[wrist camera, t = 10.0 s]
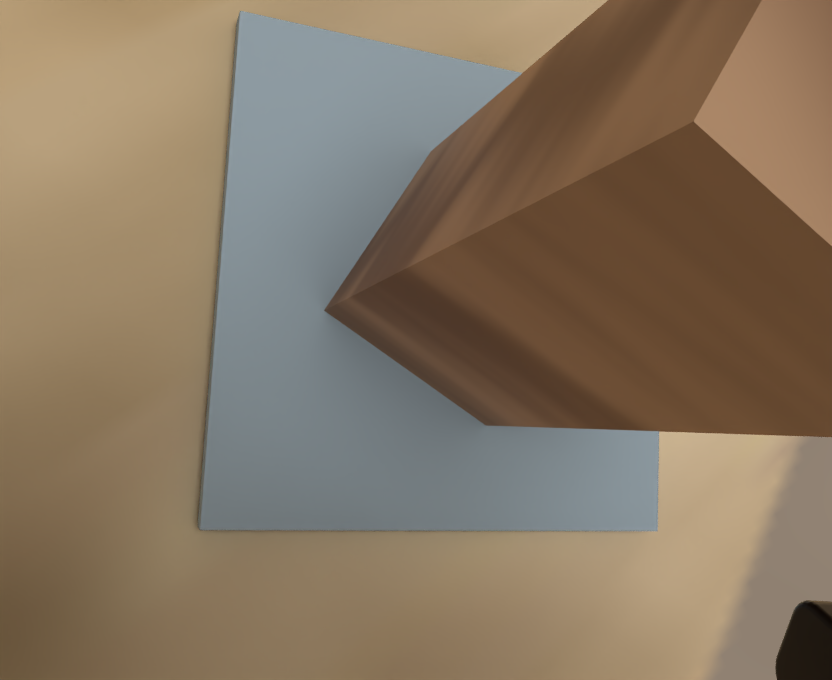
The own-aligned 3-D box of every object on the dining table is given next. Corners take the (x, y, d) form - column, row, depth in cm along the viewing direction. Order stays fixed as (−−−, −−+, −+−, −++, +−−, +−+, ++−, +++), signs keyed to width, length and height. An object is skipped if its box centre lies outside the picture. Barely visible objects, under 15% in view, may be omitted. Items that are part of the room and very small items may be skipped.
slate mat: (644, 528, 22) (657, 531, 21) (197, 526, 18) (199, 530, 17) (650, 111, 23) (664, 104, 23) (236, 22, 19) (240, 10, 19)
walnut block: (486, 425, 20) (1051, 444, 8) (323, 310, 19) (693, 121, 7) (577, 267, 21) (1182, 74, 9) (431, 150, 20) (902, -251, 8)
